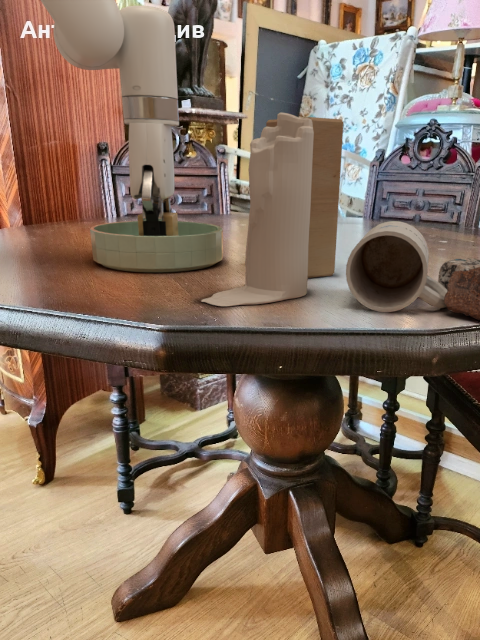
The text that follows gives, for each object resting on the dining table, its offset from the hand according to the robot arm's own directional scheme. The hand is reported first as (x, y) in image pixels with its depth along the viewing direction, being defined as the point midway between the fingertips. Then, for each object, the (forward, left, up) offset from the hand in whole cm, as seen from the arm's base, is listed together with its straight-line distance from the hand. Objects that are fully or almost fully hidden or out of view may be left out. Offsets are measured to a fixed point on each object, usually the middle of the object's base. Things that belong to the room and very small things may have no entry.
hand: (159, 245), depth 85 cm
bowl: (0, 0, -2) cm, 2 cm away
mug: (+33, -18, +1) cm, 38 cm away
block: (0, 0, 0) cm, 0 cm away
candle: (+15, -22, -3) cm, 27 cm away
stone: (+39, -27, -2) cm, 47 cm away
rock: (+47, -20, -2) cm, 51 cm away
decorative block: (+21, -5, -3) cm, 22 cm away
